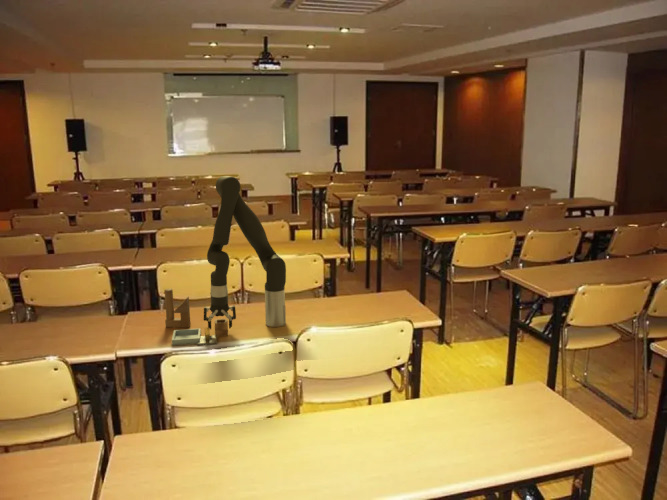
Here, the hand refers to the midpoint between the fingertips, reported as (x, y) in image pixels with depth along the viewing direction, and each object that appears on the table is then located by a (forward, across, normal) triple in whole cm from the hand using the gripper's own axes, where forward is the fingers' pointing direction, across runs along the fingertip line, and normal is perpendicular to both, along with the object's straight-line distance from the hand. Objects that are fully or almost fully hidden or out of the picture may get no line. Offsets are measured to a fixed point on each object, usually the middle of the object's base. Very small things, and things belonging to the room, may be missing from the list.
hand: (220, 328), depth 252 cm
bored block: (+3, -1, 0) cm, 3 cm away
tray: (+3, +14, +4) cm, 15 cm away
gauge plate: (+3, +5, +8) cm, 10 cm away
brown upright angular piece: (+3, +20, -12) cm, 23 cm away
